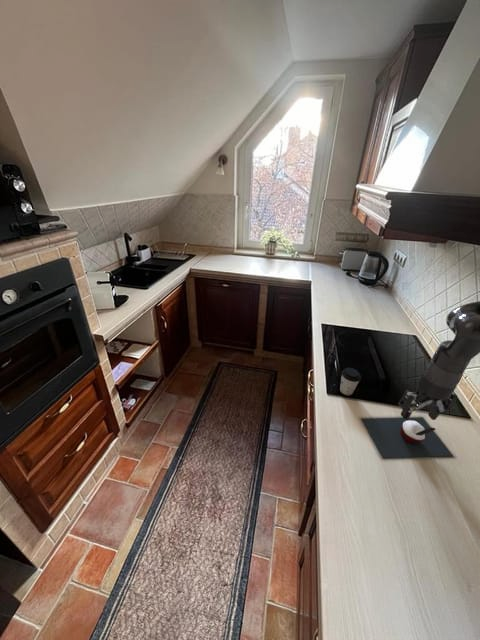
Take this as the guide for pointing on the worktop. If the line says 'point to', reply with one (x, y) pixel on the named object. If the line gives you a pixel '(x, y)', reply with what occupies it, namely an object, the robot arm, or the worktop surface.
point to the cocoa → (414, 431)
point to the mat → (395, 446)
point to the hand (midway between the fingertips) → (417, 417)
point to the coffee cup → (349, 381)
